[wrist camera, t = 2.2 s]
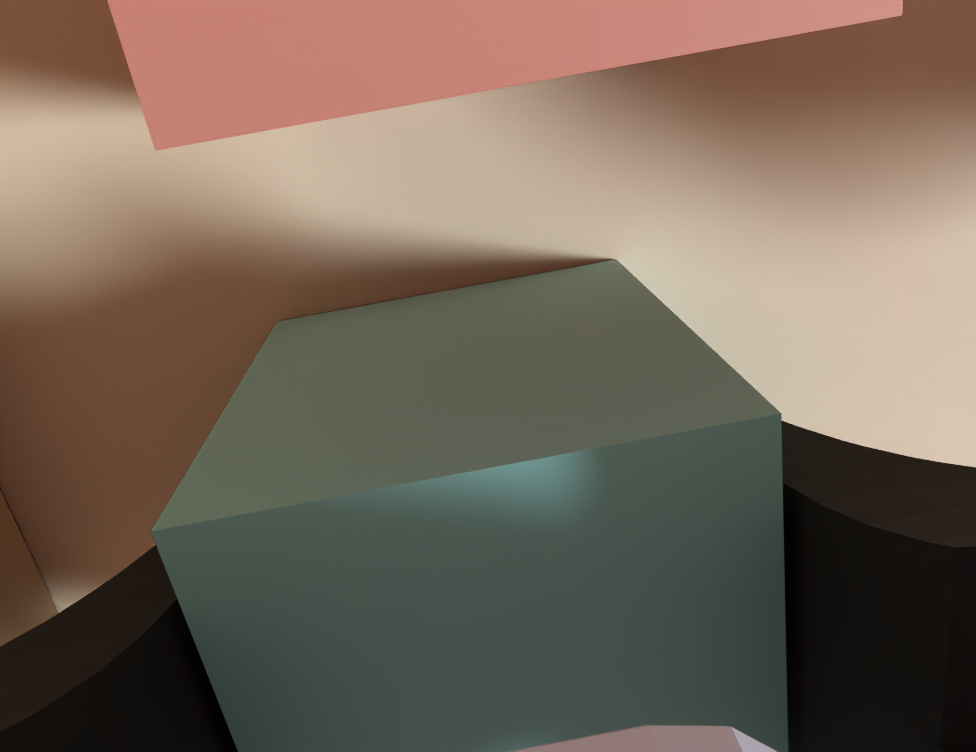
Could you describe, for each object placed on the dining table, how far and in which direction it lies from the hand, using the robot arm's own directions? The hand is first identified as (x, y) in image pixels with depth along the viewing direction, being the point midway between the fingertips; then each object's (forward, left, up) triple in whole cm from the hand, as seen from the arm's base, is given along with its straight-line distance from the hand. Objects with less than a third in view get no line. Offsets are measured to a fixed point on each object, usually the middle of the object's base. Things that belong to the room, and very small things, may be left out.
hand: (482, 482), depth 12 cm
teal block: (0, 0, -1) cm, 1 cm away
